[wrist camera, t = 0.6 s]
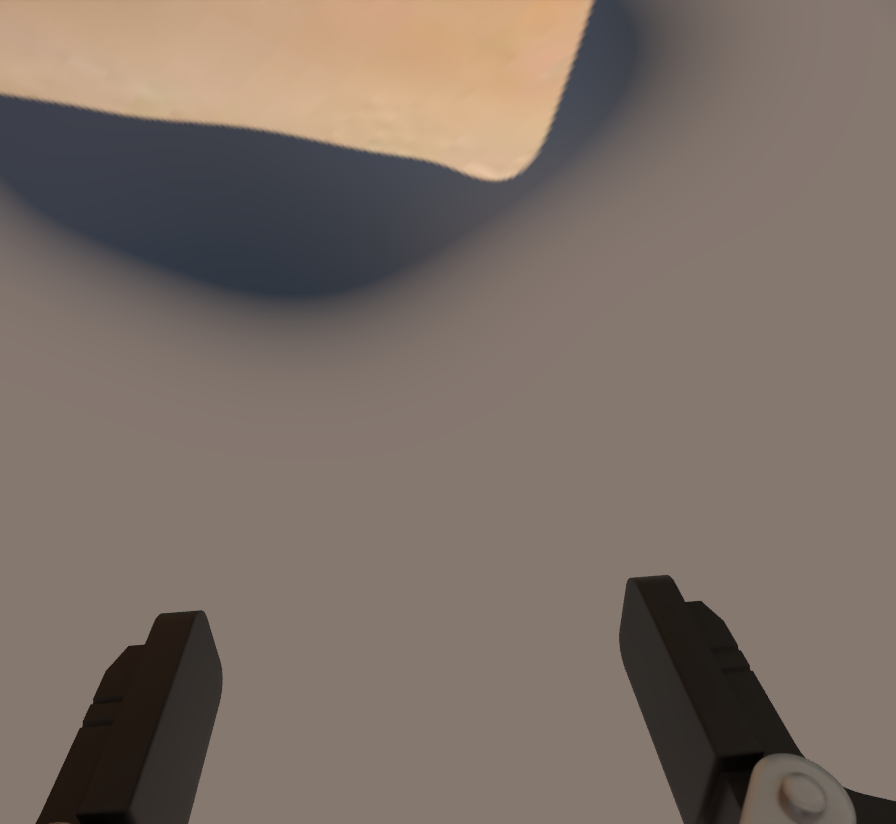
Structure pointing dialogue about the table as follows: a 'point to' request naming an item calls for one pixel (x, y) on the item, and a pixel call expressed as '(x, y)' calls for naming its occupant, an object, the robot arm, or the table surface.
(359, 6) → the table surface
